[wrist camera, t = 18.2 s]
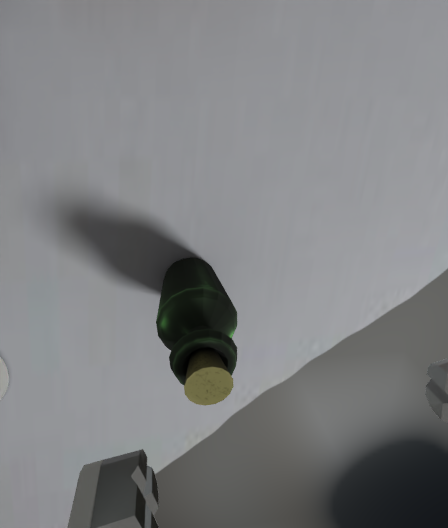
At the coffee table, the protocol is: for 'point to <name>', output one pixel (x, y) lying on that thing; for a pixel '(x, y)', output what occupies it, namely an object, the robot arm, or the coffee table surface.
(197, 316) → the potion bottle
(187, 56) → the coffee table surface
